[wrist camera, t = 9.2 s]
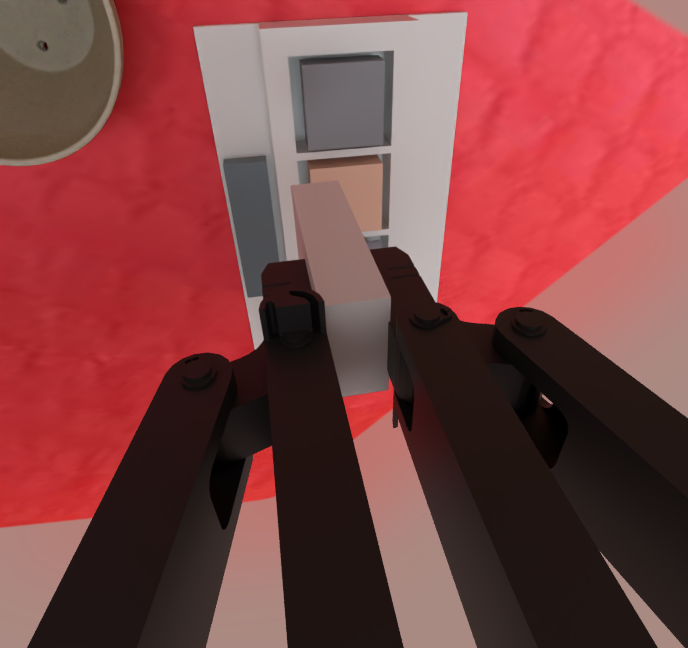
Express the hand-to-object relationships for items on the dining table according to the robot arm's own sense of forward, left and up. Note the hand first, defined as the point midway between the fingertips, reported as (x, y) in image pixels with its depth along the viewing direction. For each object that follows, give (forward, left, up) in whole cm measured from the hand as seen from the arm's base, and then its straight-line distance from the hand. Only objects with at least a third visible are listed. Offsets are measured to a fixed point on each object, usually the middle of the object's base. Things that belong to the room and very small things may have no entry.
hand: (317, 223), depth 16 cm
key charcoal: (+3, +1, -14) cm, 14 cm away
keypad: (+3, -7, -15) cm, 16 cm away
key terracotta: (+3, -4, -14) cm, 15 cm away
